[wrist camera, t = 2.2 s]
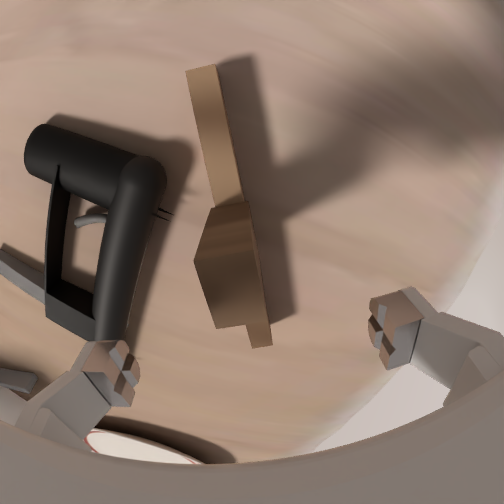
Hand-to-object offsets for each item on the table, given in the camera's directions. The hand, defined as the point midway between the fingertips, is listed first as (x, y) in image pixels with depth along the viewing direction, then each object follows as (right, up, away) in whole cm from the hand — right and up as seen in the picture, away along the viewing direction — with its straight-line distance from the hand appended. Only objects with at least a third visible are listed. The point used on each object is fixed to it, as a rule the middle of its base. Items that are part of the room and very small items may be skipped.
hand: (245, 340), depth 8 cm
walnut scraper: (-1, +5, +9) cm, 10 cm away
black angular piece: (-15, +3, +10) cm, 18 cm away
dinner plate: (-19, -32, +26) cm, 45 cm away
